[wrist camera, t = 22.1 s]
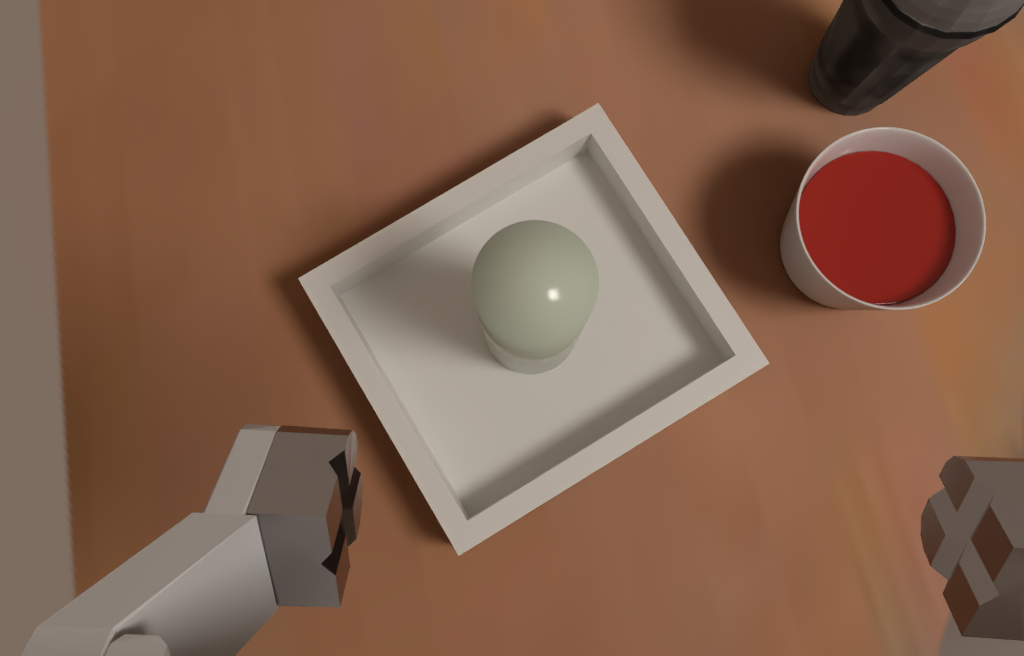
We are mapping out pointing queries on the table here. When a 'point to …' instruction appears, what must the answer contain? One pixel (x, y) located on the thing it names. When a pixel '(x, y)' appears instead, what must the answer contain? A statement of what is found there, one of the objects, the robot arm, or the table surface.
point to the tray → (545, 396)
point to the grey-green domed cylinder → (534, 294)
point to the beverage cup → (895, 46)
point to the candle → (883, 223)
